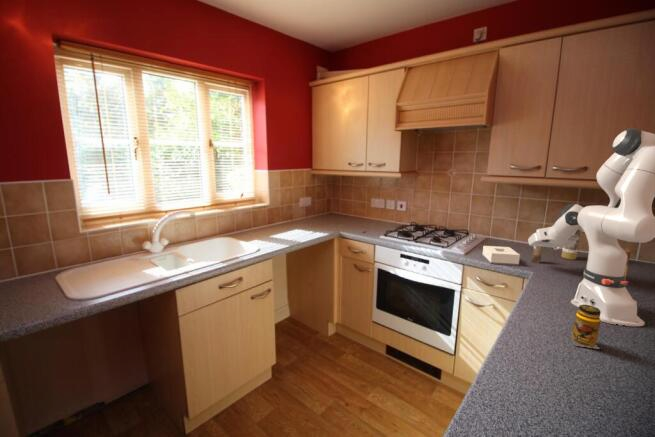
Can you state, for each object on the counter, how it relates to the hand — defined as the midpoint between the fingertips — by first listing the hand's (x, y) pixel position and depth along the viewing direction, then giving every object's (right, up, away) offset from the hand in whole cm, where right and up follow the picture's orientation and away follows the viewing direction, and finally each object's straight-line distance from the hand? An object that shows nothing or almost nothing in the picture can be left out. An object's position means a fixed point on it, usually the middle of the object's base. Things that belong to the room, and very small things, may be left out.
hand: (545, 248), depth 168 cm
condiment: (-34, -24, -66) cm, 78 cm away
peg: (-1, -8, +7) cm, 11 cm away
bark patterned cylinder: (+23, -7, +14) cm, 28 cm away
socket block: (-19, -8, +9) cm, 23 cm away
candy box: (+21, -13, -15) cm, 29 cm away
